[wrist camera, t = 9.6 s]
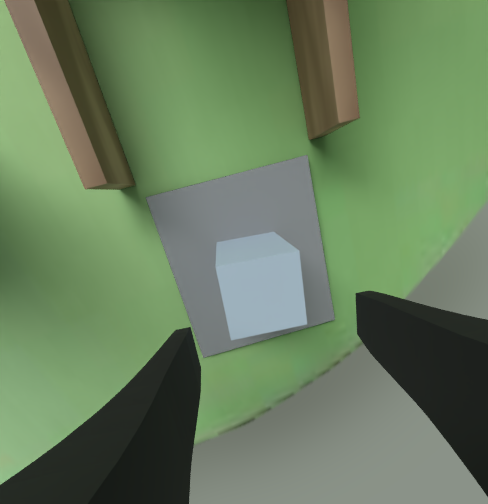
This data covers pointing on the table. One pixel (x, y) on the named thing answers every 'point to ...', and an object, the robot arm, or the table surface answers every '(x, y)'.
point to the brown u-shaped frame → (95, 109)
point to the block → (260, 284)
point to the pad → (238, 226)
